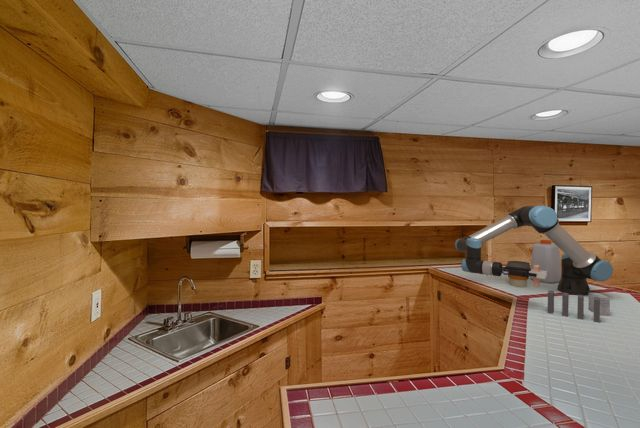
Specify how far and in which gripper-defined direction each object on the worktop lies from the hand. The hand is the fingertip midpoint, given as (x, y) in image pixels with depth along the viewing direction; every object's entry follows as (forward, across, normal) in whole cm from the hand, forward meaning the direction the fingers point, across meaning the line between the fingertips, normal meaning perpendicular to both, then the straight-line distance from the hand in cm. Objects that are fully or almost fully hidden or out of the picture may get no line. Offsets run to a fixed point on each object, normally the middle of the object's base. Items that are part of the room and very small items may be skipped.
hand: (545, 275), depth 148 cm
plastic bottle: (-8, -75, -18) cm, 77 cm away
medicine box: (+19, -15, -18) cm, 30 cm away
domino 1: (+2, 0, -18) cm, 18 cm away
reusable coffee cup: (-19, -48, -18) cm, 54 cm away
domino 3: (+13, 0, -18) cm, 22 cm away
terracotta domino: (-4, 0, -6) cm, 7 cm away
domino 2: (+8, 0, -18) cm, 20 cm away
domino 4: (+19, 0, -18) cm, 26 cm away
